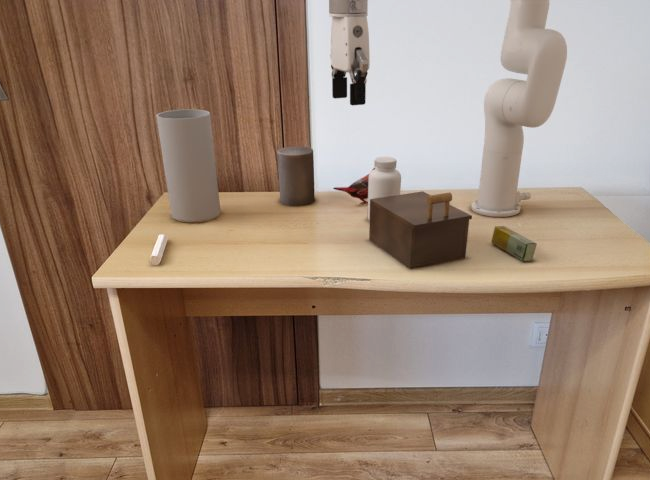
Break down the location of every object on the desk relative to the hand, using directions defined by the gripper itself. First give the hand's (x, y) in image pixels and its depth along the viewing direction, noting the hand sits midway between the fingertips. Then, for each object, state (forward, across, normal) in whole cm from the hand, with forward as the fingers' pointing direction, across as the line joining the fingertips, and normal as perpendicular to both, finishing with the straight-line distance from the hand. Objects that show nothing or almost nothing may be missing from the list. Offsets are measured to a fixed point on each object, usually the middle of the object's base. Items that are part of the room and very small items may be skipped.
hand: (348, 101), depth 129 cm
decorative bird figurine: (+30, +22, -13) cm, 40 cm away
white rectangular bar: (+30, +9, +42) cm, 53 cm away
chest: (+30, -12, -11) cm, 34 cm away
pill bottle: (+30, +9, -13) cm, 34 cm away
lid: (+21, -12, -11) cm, 27 cm away
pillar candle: (+30, +32, +2) cm, 45 cm away
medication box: (+30, -22, -30) cm, 48 cm away
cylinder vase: (+30, +31, +30) cm, 53 cm away
